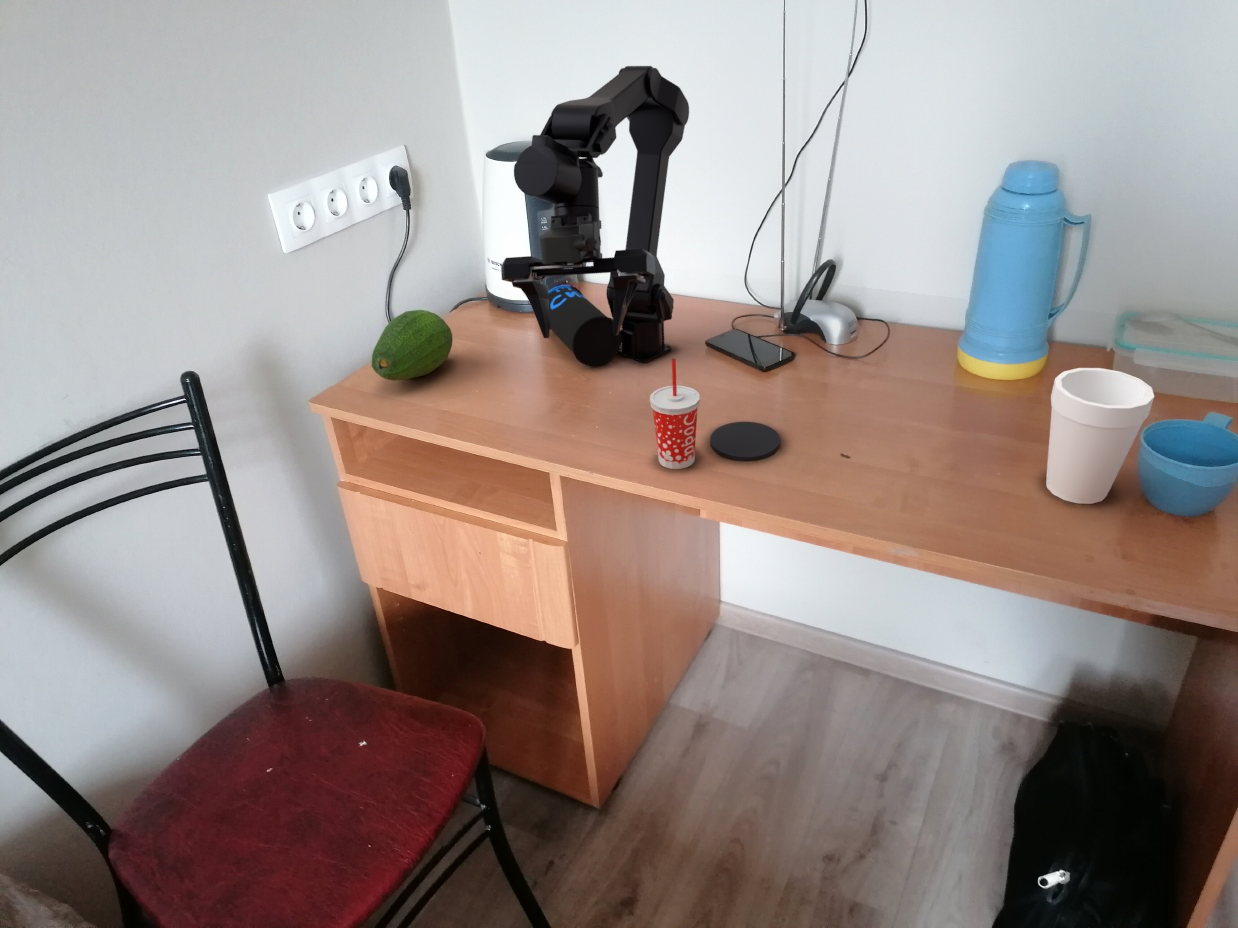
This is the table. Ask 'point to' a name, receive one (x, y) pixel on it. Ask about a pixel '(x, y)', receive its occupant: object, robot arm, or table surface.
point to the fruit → (412, 345)
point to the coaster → (745, 441)
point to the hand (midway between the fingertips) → (580, 336)
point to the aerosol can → (582, 326)
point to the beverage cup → (675, 423)
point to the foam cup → (1092, 430)
